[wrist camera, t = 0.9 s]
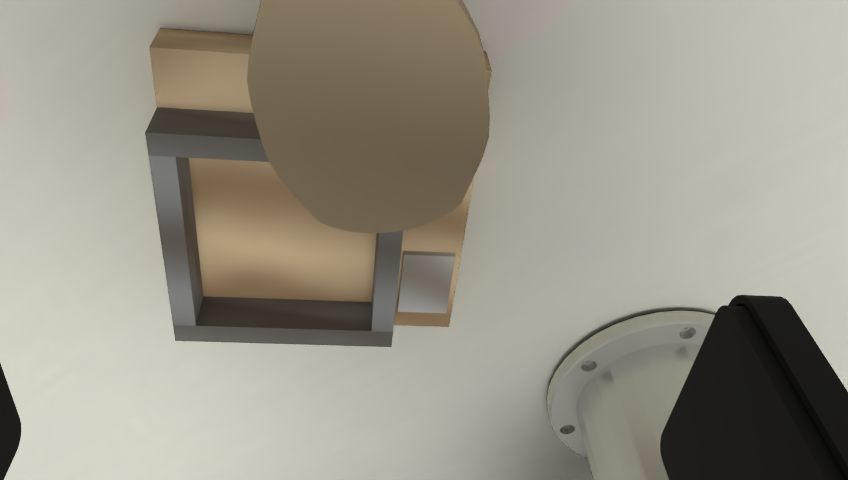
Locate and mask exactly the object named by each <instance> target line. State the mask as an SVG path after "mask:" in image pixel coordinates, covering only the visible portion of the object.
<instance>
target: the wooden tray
mask: <svg viewBox="0 0 848 480" xmlns="http://www.w3.org/2000/svg"><path fill="white" fill-rule="evenodd" d="M252 38H253V35H245V34H231V33H217V32H203V31H189V30H175V29H161V28H160V29H159V31H158V33H157V35H156V37H155V38H154V40H153V42H152V44H151V46H150V55H151V63H152V70H153V78H154V86H155V93H156V101H157V109H156V111H155V113H154V115H153V117H152V120H151V122H150V124H149V126H148V128H147V130H146V132H145V134H146V141H147V147H148V154H149V161H150V168H151V175H152V182H153V189H154V196H155V203H156V210H157V217H158V224H159V230H160V237H161V244H162V251H163V258H164V265H165V272H166V279H167V286H168V293H169V300H170V306H171V313H172V320H173V327H174V334H175V341H204V342H239V343H274V344H309V345H344V346H379V347H391V345H392V335H393V325H409V326H441V327H449V323H450V317H451V311H452V305H453V299H454V293H455V287H456V281H457V275H458V269H459V263H460V257H461V251H462V245H463V239H464V233H465V227H466V221H467V215H468V209H469V203H470V197H471V191H472V185H473V180H472V182H471V184H470V186H469V188H468V190H467V192H466V194H465V197H464V199H463V201H462V203H461V205H460V206H458V207H457V208H456V209H454V210H453V211H451V212H450V213H448V214H447V215H445V216H443V217H441V218H439V219H438V220H436V221H434V222H431V223H428V224H425V225H422V226H419V227H416V228H412V229H407V230H401V231H396V232H386V233H359V232H349V231H345V230H341V229H337V228H333V227H331V226H328V225H325V224H323V223H320V222H318V220H317V219H316V218H315V217H314V216H313V215H312V214H311V213H310V212H309V211H308V210H307V209H306V208H305V206H304V205H303V204H302V203H301V202H300V201H299V200H298V199H297V198H296V197H295V196H294V194H293V193H292V192H291V191H290V190H289V189H288V188H287V186H286V185H285V184H284V183H283V182H282V181H281V179H280V178H279V176H278V175H277V173H276V172H275V170H274V169H273V168H272V166H271V165H270V163H269V160H268V158H267V155H266V153H265V150H264V148H263V145H262V142H261V138H260V135H259V131H258V128H257V124H256V120H255V117H254V113H253V110H252V106H251V102H250V96H249V90H248V84H247V72H248V58H249V53H250V48H251V43H252ZM483 52H484V51H483ZM484 56H485V64H486V71H487V83H488V89H489V83H490V77H491V67H490V64H489V61H488V57H487V54H486V52H484ZM473 179H474V178H473Z"/></svg>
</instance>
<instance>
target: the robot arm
mask: <svg viewBox="0 0 848 480" xmlns="http://www.w3.org/2000/svg"><path fill="white" fill-rule="evenodd" d="M547 406H548V413H549V417H550V420H551V424H552V427H553V430H554V432H555V433H556V435H557V436H558V438H559V439H560V440H561V441H562V442H563V443H564V444H565V445H566V446H567V447H568V448H570V449H571V450H573V451H574V452H576V453H578V454H580V455H582V456H584V457H587V458H588V461H589V464H590V468H591V472H592V475H593V479H594V480H848V392H847V390H846V389H845V387H844V385H843V384H842V382H841V381H840V379H839V378H838V376H837V375H836V373H835V372H834V370H833V368H832V367H831V365H830V364H829V362H828V361H827V359H826V358H825V356H824V355H823V353H822V352H821V350H820V348H819V347H818V345H817V344H816V342H815V341H814V339H813V338H812V336H811V335H810V333H809V332H808V330H807V328H806V327H805V325H804V324H803V322H802V321H801V319H800V318H799V316H798V315H797V313H796V311H795V310H794V308H793V307H792V305H791V304H790V303H789V302H788V301H787V300H786V299H784V298H782V297H775V296H750V295H739V296H736V297H735V298H733V299H732V300H731V302H730V303H729V305H728V306H722V307H720V308H719V309H718V311H717V312H716V314H715V315H712V314H708V313H704V312H694V311H668V312H657V313H652V314H647V315H643V316H638V317H634V318H631V319H629V320H626V321H623V322H620V323H617V324H615V325H613V326H611V327H609V328H607V329H605V330H603V331H600V332H598V333H596V334H595V335H594V336H592V337H591V338H589V339H588V340H586V341H585V342H583V343H582V344H580V345H579V346H578V347H577V348H576V349H575V350H574V351H573V352H572V353H570V354H569V355H568V356H567V357H566V358H565V359H564V361H563V362H562V363H561V365H560V366H559V368H558V369H557V370H556V372H555V373H554V376H553V378H552V380H551V383H550V385H549V388H548V395H547ZM20 437H21V422H20V418H19V415H18V412H17V410H16V407H15V404H14V401H13V398H12V395H11V393H10V390H9V387H8V384H7V381H6V378H5V375H4V373H3V370H2V367H1V364H0V480H4V478H5V475H6V473H7V471H8V469H9V467H10V464H11V462H12V460H13V458H14V456H15V453H16V451H17V449H18V446H19V442H20Z"/></svg>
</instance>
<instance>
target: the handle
mask: <svg viewBox="0 0 848 480" xmlns="http://www.w3.org/2000/svg"><path fill="white" fill-rule="evenodd" d="M247 84H248V90H249V96H250V102H251V106H252V110H253V113H254V117H255V120H256V124H257V128H258V131H259V135H260V138H261V142H262V145H263V148H264V150H265V153H266V155H267V158H268V160H269V163H270V165H271V166H272V168H273V169H274V170H275V172H276V173H277V175H278V176H279V178H280V179H281V181H282V182H283V183H284V184H285V185H286V186H287V188H288V189H289V190H290V191H291V192H292V193H293V194H294V196H295V197H296V198H297V199H298V200H299V201H300V202H301V203H302V204H303V205H304V206H305V208H306V209H307V210H308V211H309V212H310V213H311V214H312V215H313V216H314V217H315V218H316V219H317V220H318V222H320V223H323V224H325V225H328V226H331V227H333V228H337V229H341V230H345V231H349V232H359V233H386V232H396V231H401V230H407V229H412V228H416V227H419V226H422V225H425V224H428V223H431V222H434V221H436V220H438V219H439V218H441V217H443V216H445V215H447V214H448V213H450V212H451V211H453V210H454V209H456V208H457V207H458V206H460V205H461V203H462V201H463V199H464V197H465V194H466V192H467V190H468V188H469V186H470V184H471V182H472V180H473V178H474V175H475V173H476V171H477V168H478V166H479V164H480V162H481V159H482V157H483V154H484V151H485V147H486V144H487V141H488V137H489V118H490V116H489V99H488V83H487V71H486V64H485V56H484V52H483V47H482V43H481V40H480V36H479V33H478V30H477V28H476V26H475V24H474V22H473V20H472V18H471V16H470V14H469V12H468V10H467V8H466V6H465V4H464V3H463V1H462V0H261V4H260V8H259V12H258V16H257V20H256V25H255V29H254V33H253V38H252V43H251V48H250V53H249V58H248V72H247Z"/></svg>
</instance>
